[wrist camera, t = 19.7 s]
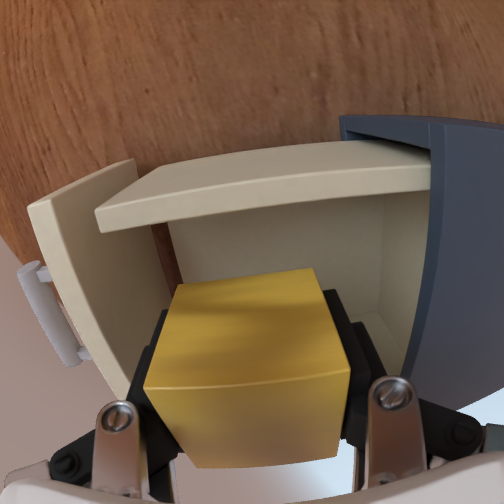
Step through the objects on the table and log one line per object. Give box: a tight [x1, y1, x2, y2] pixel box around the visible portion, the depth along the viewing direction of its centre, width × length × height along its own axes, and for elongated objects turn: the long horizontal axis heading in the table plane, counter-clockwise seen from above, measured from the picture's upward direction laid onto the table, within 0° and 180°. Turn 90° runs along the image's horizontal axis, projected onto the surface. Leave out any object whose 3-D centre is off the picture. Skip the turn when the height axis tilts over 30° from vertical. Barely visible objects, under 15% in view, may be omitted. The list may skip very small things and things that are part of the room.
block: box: [143, 268, 351, 468], centre depth 9 cm, size 4×4×4 cm
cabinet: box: [339, 115, 504, 411], centre depth 13 cm, size 16×14×10 cm
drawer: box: [16, 139, 431, 400], centre depth 13 cm, size 19×12×8 cm, turn 98°
